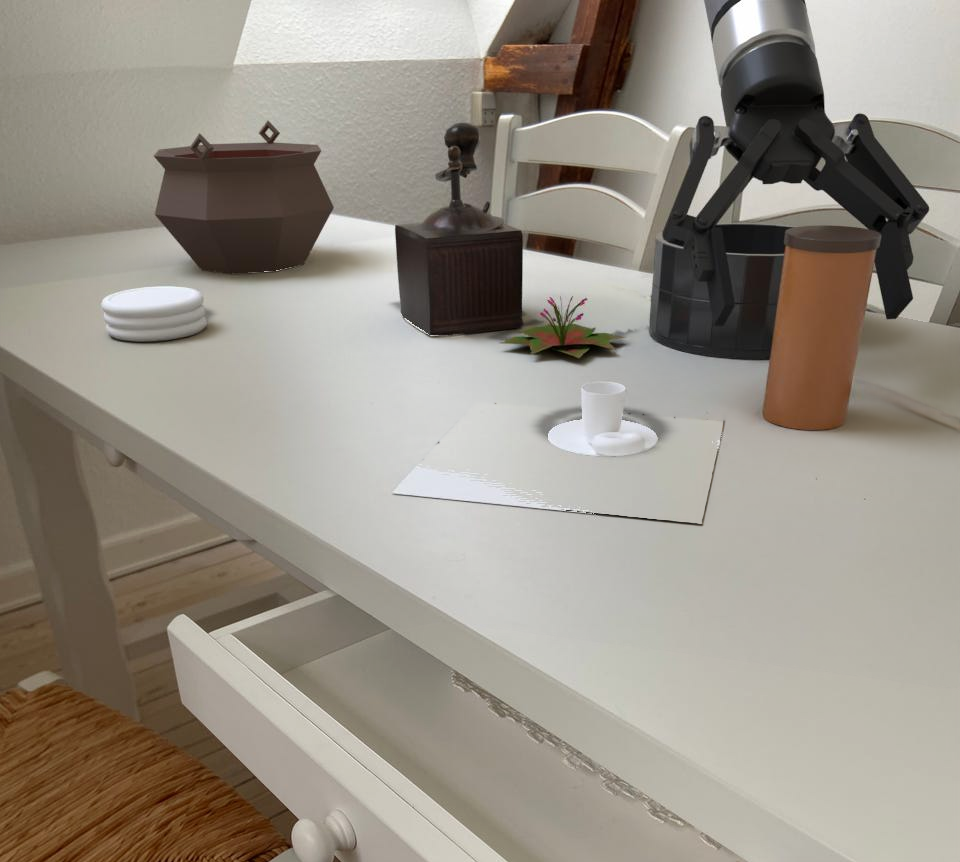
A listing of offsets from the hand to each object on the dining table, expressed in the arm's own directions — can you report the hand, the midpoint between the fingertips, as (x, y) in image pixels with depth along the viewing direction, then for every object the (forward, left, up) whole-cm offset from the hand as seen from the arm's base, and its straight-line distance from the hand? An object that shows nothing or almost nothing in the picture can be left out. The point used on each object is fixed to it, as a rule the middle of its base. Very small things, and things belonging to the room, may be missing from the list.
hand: (812, 313), depth 74 cm
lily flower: (+25, +8, -8) cm, 27 cm away
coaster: (+48, +43, -8) cm, 65 cm away
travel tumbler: (-1, 0, -8) cm, 8 cm away
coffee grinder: (+41, +13, -8) cm, 44 cm away
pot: (+22, -10, -8) cm, 25 cm away
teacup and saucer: (-1, +20, -8) cm, 22 cm away
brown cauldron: (+80, +27, -8) cm, 85 cm away
